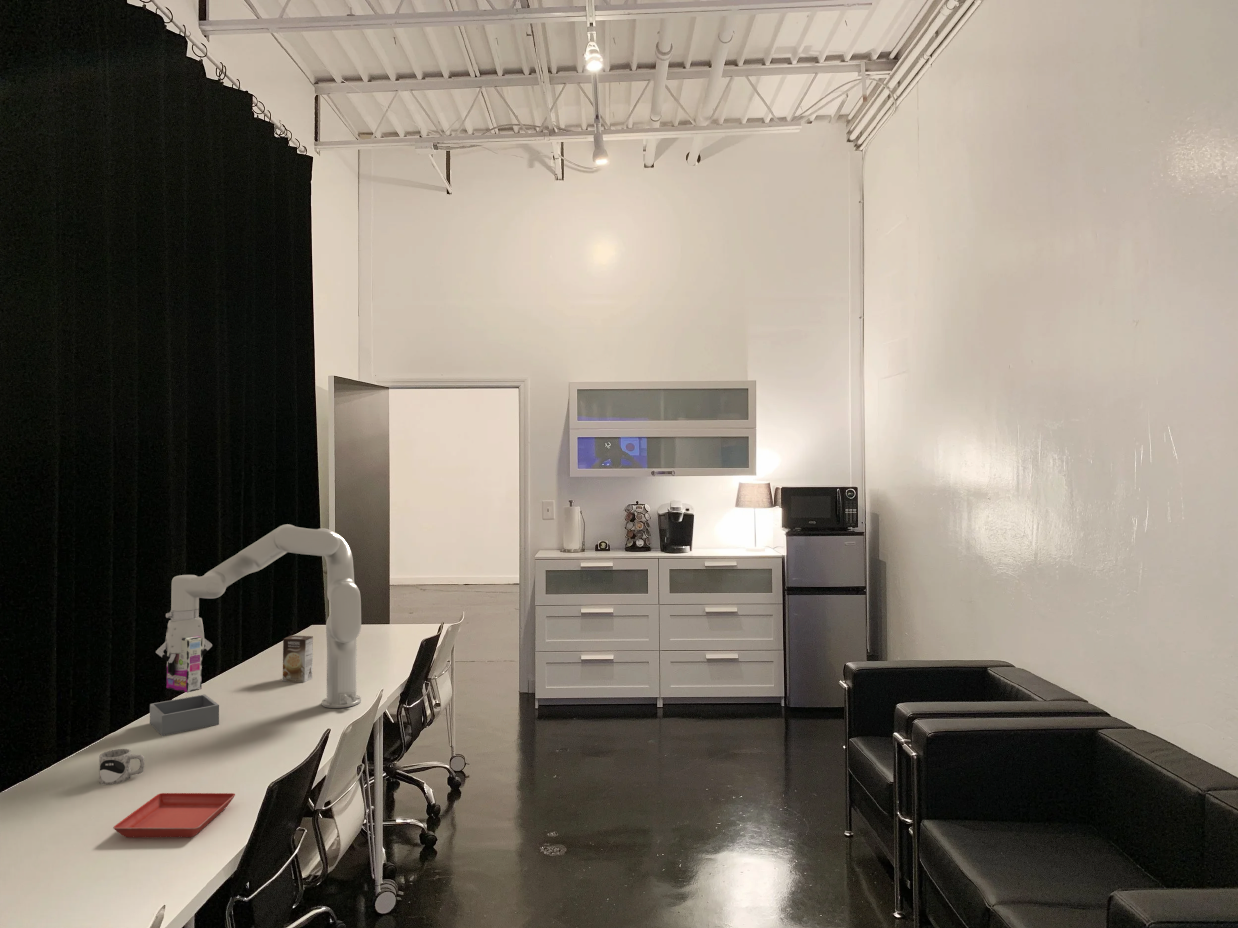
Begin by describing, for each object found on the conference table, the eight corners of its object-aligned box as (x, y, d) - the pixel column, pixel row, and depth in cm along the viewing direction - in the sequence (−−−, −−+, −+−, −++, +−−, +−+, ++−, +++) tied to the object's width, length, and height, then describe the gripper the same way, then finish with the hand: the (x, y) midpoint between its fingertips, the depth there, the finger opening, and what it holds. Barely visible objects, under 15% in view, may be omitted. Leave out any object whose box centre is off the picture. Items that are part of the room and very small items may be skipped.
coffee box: (281, 681, 289) (281, 638, 289) (290, 677, 295) (290, 634, 295) (304, 682, 288) (305, 639, 288) (313, 677, 294) (313, 635, 294)
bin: (218, 724, 240) (219, 704, 240) (161, 735, 229) (162, 715, 230) (204, 712, 252) (204, 694, 252) (149, 723, 241) (149, 703, 241)
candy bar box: (202, 689, 240) (203, 636, 240) (187, 693, 236) (187, 639, 236) (181, 684, 246) (181, 632, 246) (165, 688, 241) (165, 635, 241)
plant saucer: (236, 805, 183) (236, 791, 183) (197, 842, 165) (197, 826, 165) (159, 806, 182) (159, 792, 182) (111, 843, 164) (111, 827, 164)
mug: (94, 785, 193) (95, 759, 193) (104, 775, 200) (105, 749, 200) (140, 781, 196) (140, 755, 196) (148, 771, 202) (148, 746, 202)
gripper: (156, 620, 232) (155, 680, 232) (218, 613, 244) (218, 670, 244) (150, 616, 238) (149, 675, 237) (211, 610, 249) (211, 665, 249)
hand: (184, 672), depth 241 cm, fingers closed on candy bar box, 6 cm apart
